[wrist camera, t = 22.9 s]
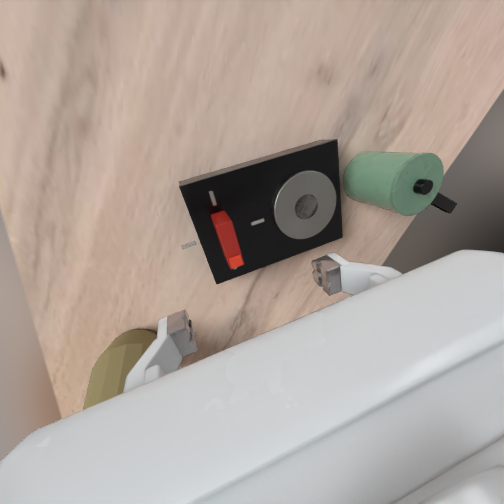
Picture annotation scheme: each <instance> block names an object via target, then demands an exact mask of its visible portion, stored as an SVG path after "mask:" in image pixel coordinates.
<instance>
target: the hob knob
mask: <svg viewBox="0 0 504 504" xmlns="http://www.w3.org/2000/svg"><path fill="white" fill-rule="evenodd" d="M211 218H212V221H213V224H214V227H215V230H216V233H217V236H218V239H219V242H220V245H221V248H222V251H223V253H224V256H225V258H226V260H227V263H228V265H229V267H230V269H233V268H236V267H239V266H242V265H244V260H243V257H242V253H241V250H240V247H239V243H238V240H237V236H236V233H235V230H234V226H233V223H232V220H231V219H230V218H229V216H228V215H227V214H226V212H225V211H220V212H217V213H214V214H211Z"/></svg>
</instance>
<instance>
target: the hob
mask: <svg viewBox="0 0 504 504" xmlns="http://www.w3.org/2000/svg"><path fill="white" fill-rule="evenodd" d="M306 170H311V171H317V172H320V173H322V174H324V175H325V176H327V177H328V178H329V179H330V181H331V182H332V184H333V186H334V188H335V192H336V207H335V211H334V214H333V216H332V218H331V220H330V221H329V223H328V224H327V226H326V227H325V228H324V229H323V230H322V231H320V232H319V233H318V234H316V235H314V236H312V237H309V238H306V239H294V238H291V237H289V236H287V235H285V234H284V233H283V232H282V231H280V229H279V228H278V227H277V225H276V223H275V221H274V218H273V201H274V198H275V195H276V193H277V191H278V189H279V187H280V186H281V185H282V183H283V182H284V181H285V180H286V179H287V178H289V177H290V176H291V175H293V174H295V173H297V172H300V171H306ZM179 187H180V190H181V193H182V195H183V198H184V200H185V203H186V206H187V208H188V211H189V214H190V216H191V219H192V221H193V224H194V227H195V229H196V232H197V234H198V237H199V240H200V242H201V245H202V248H203V250H204V253H205V255H206V258H207V261H208V263H209V266H210V269H211V271H212V274H213V276H214V279H215V282H216V284H219V283H222V282H225V281H227V280H230V279H233V278H235V277H238V276H241V275H243V274H246V273H249V272H251V271H254V270H257V269H259V268H262V267H265V266H267V265H270V264H273V263H275V262H278V261H281V260H284V259H286V258H289V257H292V256H294V255H297V254H300V253H302V252H305V251H308V250H310V249H313V248H316V247H318V246H321V245H324V244H326V243H329V242H332V241H334V240H337V239H340V238H342V237H343V234H342V216H341V198H340V179H339V161H338V143H337V139H333V140H319V141H315V142H312V143H309V144H305V145H302V146H298V147H295V148H292V149H288V150H285V151H282V152H278V153H275V154H271V155H268V156H265V157H261V158H258V159H254V160H251V161H248V162H244V163H241V164H237V165H234V166H231V167H227V168H224V169H220V170H217V171H214V172H210V173H207V174H204V175H200V176H197V177H193V178H190V179H187V180H183V181H180V182H179ZM220 211H225V212H226V214H227V215H228V216H229V218H230V219H231V220H232V223H233V226H234V230H235V233H236V236H237V240H238V243H239V247H240V250H241V253H242V257H243V260H244V265H242V266H239V267H236V268H233V269H230V267H229V265H228V263H227V260H226V258H225V256H224V253H223V251H222V248H221V245H220V242H219V239H218V236H217V233H216V230H215V227H214V224H213V221H212V218H211V214H214V213H217V212H220ZM194 245H196V242H195V241H193V242H191V243H188V244H185V245H182V246H181V247H182V249H185V248H188V247H191V246H194Z"/></svg>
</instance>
